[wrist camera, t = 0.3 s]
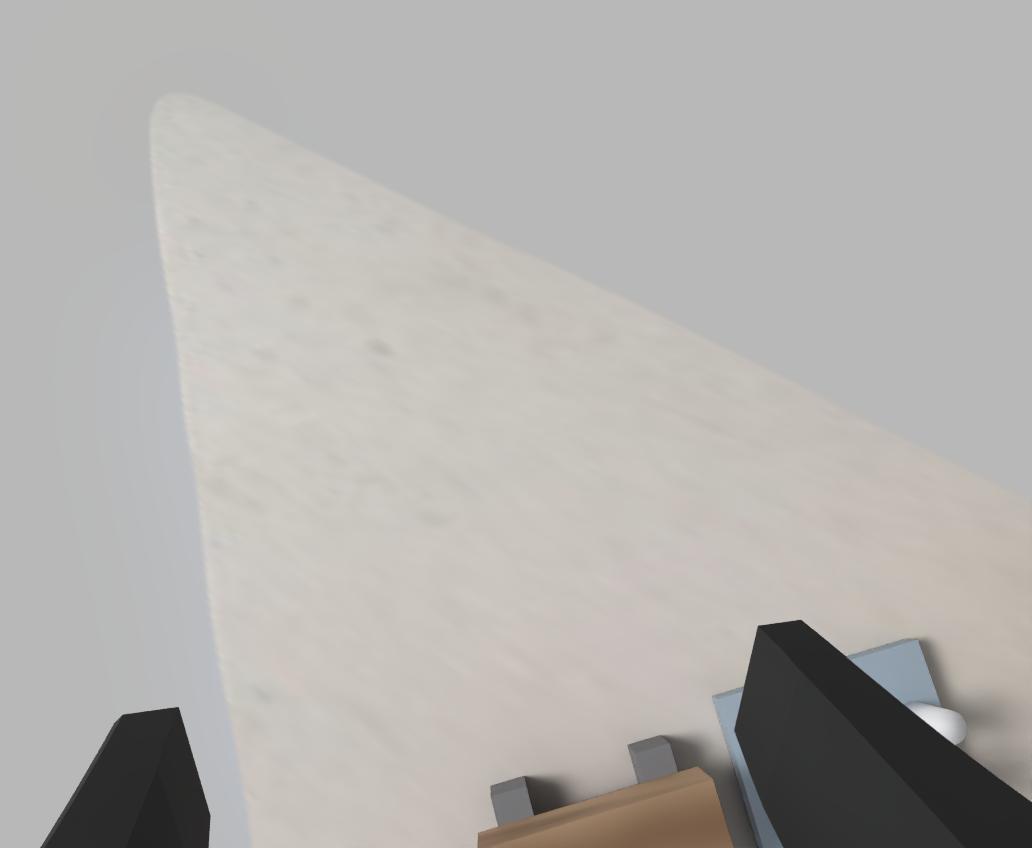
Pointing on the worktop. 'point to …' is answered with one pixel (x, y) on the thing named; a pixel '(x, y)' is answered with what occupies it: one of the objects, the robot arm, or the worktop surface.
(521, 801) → the board rack
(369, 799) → the worktop surface
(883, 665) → the peg base
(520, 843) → the shelf board
